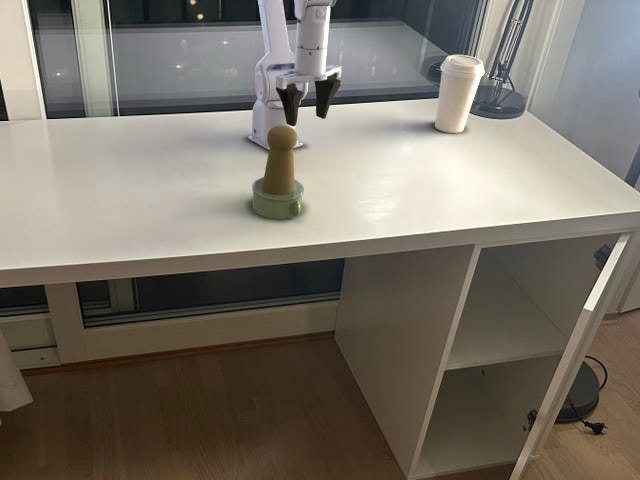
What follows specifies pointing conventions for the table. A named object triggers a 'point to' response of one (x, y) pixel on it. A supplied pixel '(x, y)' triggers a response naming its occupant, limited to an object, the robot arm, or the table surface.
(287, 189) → the brown pawn
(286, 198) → the upturned mug
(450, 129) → the coffee cup
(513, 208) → the table surface
